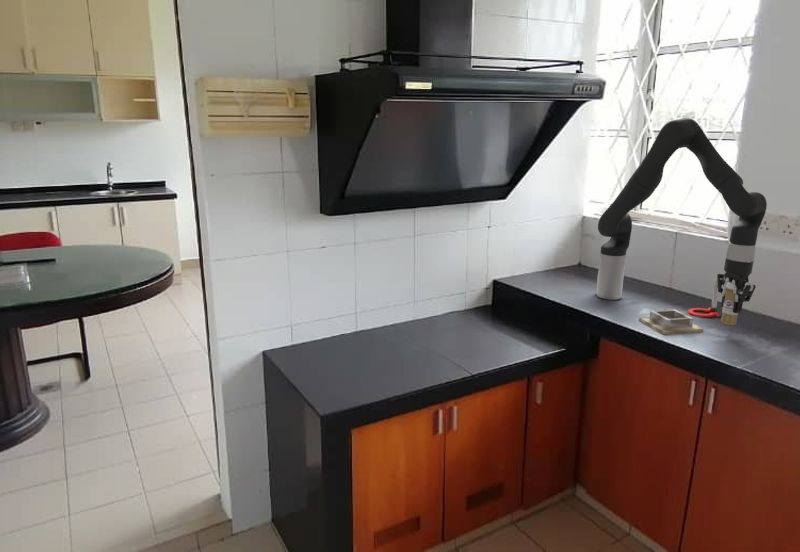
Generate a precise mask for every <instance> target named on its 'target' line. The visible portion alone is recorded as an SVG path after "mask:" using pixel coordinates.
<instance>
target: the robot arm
mask: <svg viewBox="0 0 800 552" xmlns="http://www.w3.org/2000/svg"><path fill="white" fill-rule="evenodd" d="M682 148H686V149H688V151H690V152H692V153H693V154H694V156H695V157H696V158H697V159H698V161H699V163H700V167H701V169H702V172H703V174H704V176H705V178H706V179H707V181H708V182H709V183H710V184H711V185H712V186H713V187H714V188H715V189H716V190H717V191H718V192H719V193H720V195H721V196H722V198H723V200H724V202H725V203H726V205H727V207H728V209H730V211H731V212H732V213H733V214H735V215H736V216H738V220H737V222H736V223H735V224H734V225H732V227H731V230H730V236H729V242H728V246H727V248H726V252H725V253H726V254H725V255H726V256H725V260H724V266H723V271H724V272H725V273H717V275H716V277H717V278H716V279H717V281H718V283H717V285H718V290H717V293H720V294H721V296H722V297H721V303H720V304H721V308H723V305H724V301H725V295H726V290H727V287H726V286H727V283H728V282H732V284H733V285H734V289H733V294H734V295H735V302H734V307H733V312H734V313H738V314H740V313H741V312H742V311H743V304H744V302H750V300H751V298H752V296H753V294H754V292H755V289H756V285H755V284H751V283H750V280H749V276H750V275H751V274H752V272H753V266H754V262H755V257H756V244H757V239H758V232H759V229H760V228H761V225H762V222H763V220H764V217H765V214H766V212H767V205H768V203H767V200H766V199H767V198H766V197H765V195H764V194H762V193H760V192H755V191H753V192H748V191H747V190H746V188H745V187H744V180H743V178H742V177H741V176H740V175H739V174H738V173H737V172H736V170H734V168H732V166H730V165H729V164H728V162H726V160H725V159H724V158H723V157H722V156H721V154H720V153H719V152H718V150H717V149H716V148H715V147H714V145H713V143H712V142H711V141H710V139H709V138H708V136H707V134H706V133H705V132H704V130H703V129H702V127H701V126H700V125H699V123H698V122H697V121H696V120H694V119H693V118H690V117H684V118H677V119H673V120H670V121H668V122H666V123H665V124H664V125H663V126H662V127H661V129H660V130H659V132H658V134H657V136H656V137H655V139H654V141H653V143H652V145H651V146H650V149H649V150H648V152H647V153H646V154H645V156H644V158H643V159H642V160H641V163H640V164H639V165H638V166H637V168H636V169H635V171H634V172H633V173H632V175H631V176H630V177H629V179H628V181H627V182H626V184H625V185H624V187H623V188H622V190H620V192H619V193H618V195H617V197H616V198H615V199H614V201H613V202H612V203H611V204H610V206H608V207H607V208H606V210H605V211H604V212H603V213H602V214H601V216H600V217H599V220H598V224H597V230H598V233H599V234H600V235H601V236H603V237H607V238H609V240H608V241H607V242H605V243H604V244H603V243H602V245H601V247H600V256H599V266H598V271H597V277H596V290H595V294H596V297H597V298H600V299H604V300H613V301H614V300H620V299H622V296H623V295H622V294H623V285H624V279H625V278H624V276H625V268H626V267H625V266H626V257H627V251H628V248H629V247H630V244H631V243H630V242H631V235H632V229H633V220H632V218H631V215H630V214H629V212H631V211H632V210H633V209H635V208H636V207H638V206H640V205H642V203H644V202H645V201H646V200H648V199H649V198H651V196H652V195H653V193H654V192H655V191H656V189H657V188H658V187H659V185H660V183H661V181H662V179H663V175H664V168H665V165H666V164H667V162H668V161H669V159H670V158H671V157H672V156H673V154H674V153H675V152H676V151H678V150H679V149H682ZM742 289H743V290H742ZM738 290H742V291H741V292H738ZM739 294H740V296H741V298H739Z"/></svg>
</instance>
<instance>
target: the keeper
mask: <svg viewBox="0 0 800 552" xmlns="http://www.w3.org/2000/svg"><path fill="white" fill-rule="evenodd" d="M638 320H639V321H640V322H641V323H643V324H644V325H646V326H648V327H650V328H652V329H653V330H655V331H657V332H658V333H660V334H662V335H664V336H665V335H667V334H668V335H678V334H692V333H702V332H704V328H702V327H700V326H698V325H696V324H694V318H693V317H691V316H690V315H687V314H685V313H683V312H682V311H679V310H677V309H675V308H674V309H662V310H658V309H657V310H650V312H649V316H645V317H644V316H642V317H638ZM668 335H667V336H668Z"/></svg>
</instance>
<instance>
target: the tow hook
mask: <svg viewBox="0 0 800 552" xmlns="http://www.w3.org/2000/svg"><path fill="white" fill-rule="evenodd" d="M712 295H713V296H712V300H711V306H709V307H708V308H703V307H702V308H701V307H692V308H689V309H688V310H687V313H688V314H689V316H690V315H691V316H694V317H696V316H697V318H712V317H716V318H719V317H720V316H721V314H720V313H719V312H718V307H717V306H718V300H717V298H718V281H717V278H716V279H715V280H714V285H713V294H712ZM697 312H705V313H704V314H703V313H697Z"/></svg>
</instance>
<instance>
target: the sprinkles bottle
mask: <svg viewBox="0 0 800 552" xmlns="http://www.w3.org/2000/svg"><path fill="white" fill-rule="evenodd" d="M726 287H727V290H726V295H725V301H724V305H723V307H722V310H721V311H722V313H721V318H720V322H721V323H722V324H725V325H729V326H730V325H731V326H732V325H736V324H737V320H738V315H739V313H734V312H733V307H734V302H735V295H734V294H733V289H734V285H733V284H732V282H728V283H727V286H726ZM742 290H743V289H742ZM742 290H738V292H741V291H742ZM739 298H741V296H740V294H739Z"/></svg>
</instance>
